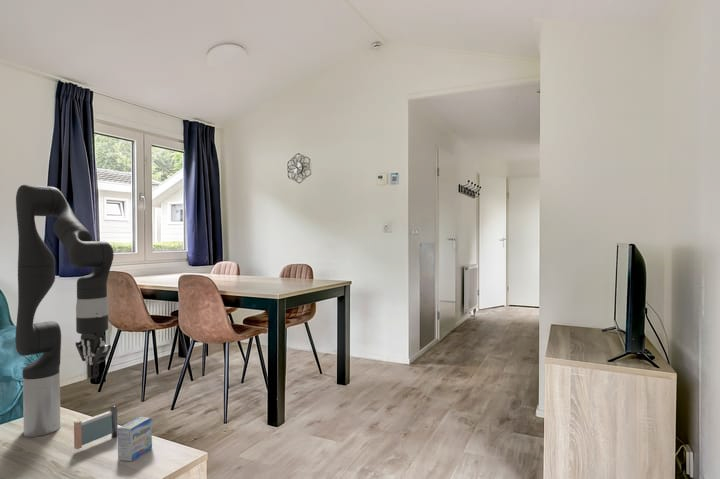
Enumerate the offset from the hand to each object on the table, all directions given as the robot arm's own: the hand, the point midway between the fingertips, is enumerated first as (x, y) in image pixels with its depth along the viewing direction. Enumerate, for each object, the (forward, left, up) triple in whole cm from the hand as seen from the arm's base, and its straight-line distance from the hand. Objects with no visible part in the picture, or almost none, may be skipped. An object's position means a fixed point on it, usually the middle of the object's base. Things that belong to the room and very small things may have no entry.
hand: (93, 377), depth 120 cm
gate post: (-5, +9, -21) cm, 23 cm away
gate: (-5, +3, -20) cm, 21 cm away
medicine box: (+10, +5, -21) cm, 24 cm away
